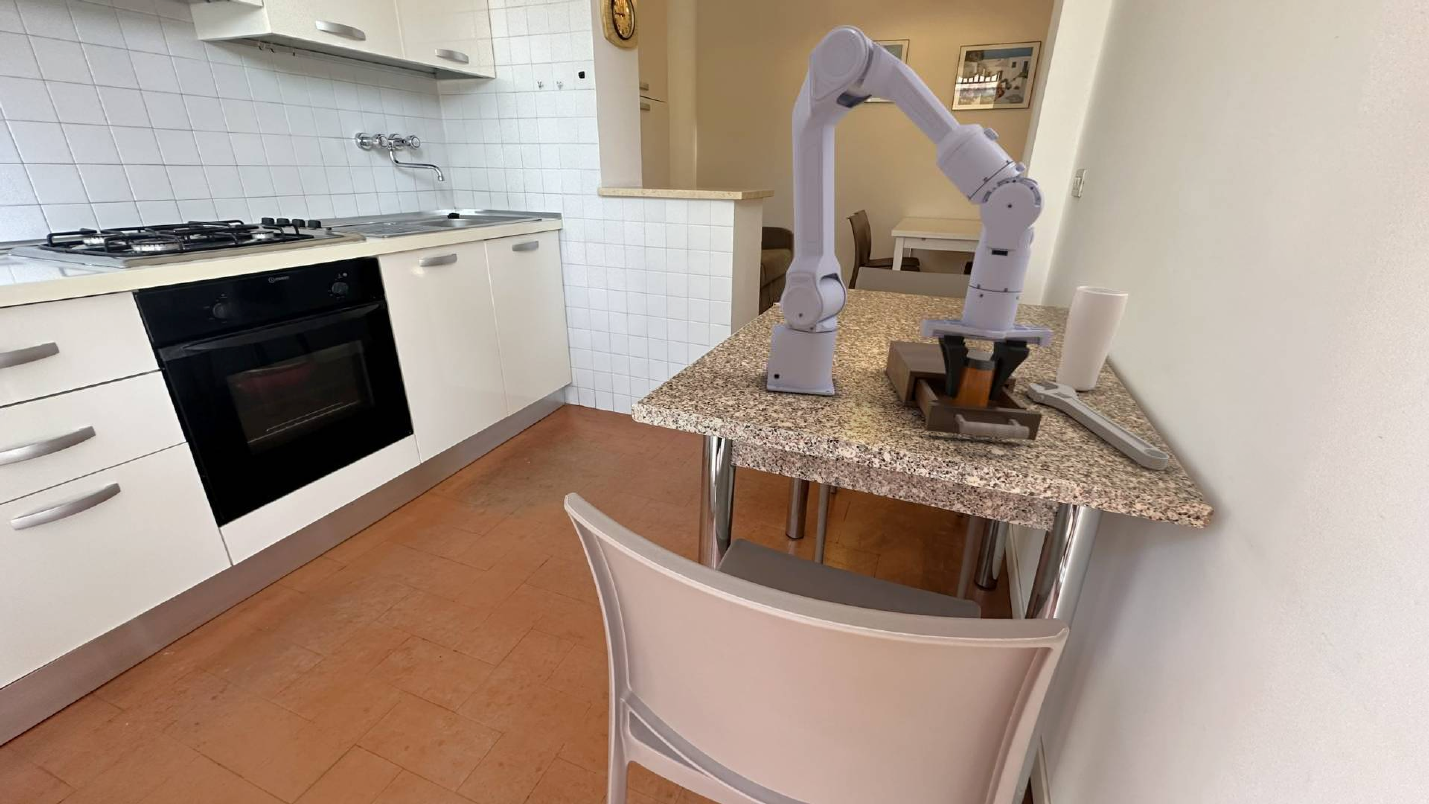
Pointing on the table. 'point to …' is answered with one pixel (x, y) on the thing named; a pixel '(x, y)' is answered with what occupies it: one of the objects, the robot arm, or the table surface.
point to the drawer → (974, 413)
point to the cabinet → (919, 367)
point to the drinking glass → (1089, 335)
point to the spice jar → (976, 379)
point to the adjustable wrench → (1098, 424)
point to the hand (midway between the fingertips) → (970, 396)
